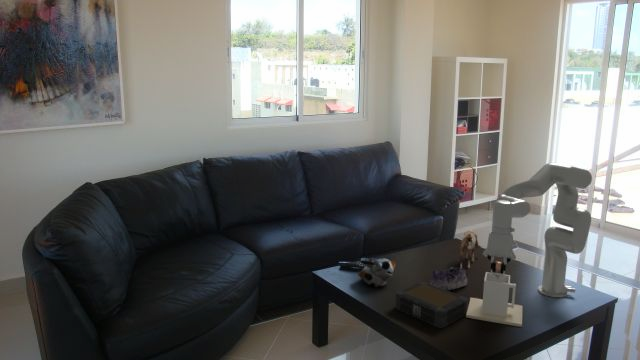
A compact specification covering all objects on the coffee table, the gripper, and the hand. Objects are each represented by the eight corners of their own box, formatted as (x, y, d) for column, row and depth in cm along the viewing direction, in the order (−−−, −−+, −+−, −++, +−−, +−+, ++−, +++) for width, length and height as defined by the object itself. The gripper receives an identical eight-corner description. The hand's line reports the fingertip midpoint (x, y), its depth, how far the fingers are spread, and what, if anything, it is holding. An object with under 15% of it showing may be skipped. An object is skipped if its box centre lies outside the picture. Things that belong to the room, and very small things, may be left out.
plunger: (505, 305, 220) (509, 260, 216) (504, 313, 213) (508, 267, 209) (486, 302, 223) (489, 258, 219) (484, 310, 216) (488, 264, 212)
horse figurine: (469, 275, 258) (472, 237, 254) (454, 272, 262) (456, 234, 258) (480, 256, 285) (483, 221, 281) (467, 253, 289) (469, 219, 285)
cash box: (392, 309, 222) (393, 292, 221) (421, 295, 236) (422, 280, 234) (440, 330, 204) (441, 312, 203) (468, 314, 217) (469, 298, 216)
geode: (442, 296, 235) (440, 275, 233) (424, 291, 244) (423, 271, 243) (472, 285, 245) (470, 265, 244) (454, 280, 255) (452, 261, 254)
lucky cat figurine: (371, 273, 261) (386, 249, 257) (389, 290, 253) (405, 265, 249) (351, 273, 248) (367, 248, 244) (369, 291, 240) (386, 265, 236)
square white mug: (522, 308, 223) (525, 274, 219) (521, 326, 206) (525, 290, 203) (470, 299, 231) (472, 266, 227) (466, 317, 214) (468, 282, 211)
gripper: (522, 229, 211) (518, 271, 215) (481, 225, 217) (478, 265, 221) (522, 234, 204) (518, 277, 208) (479, 230, 210) (476, 271, 214)
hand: (497, 271), depth 215 cm, fingers closed on plunger, 3 cm apart
